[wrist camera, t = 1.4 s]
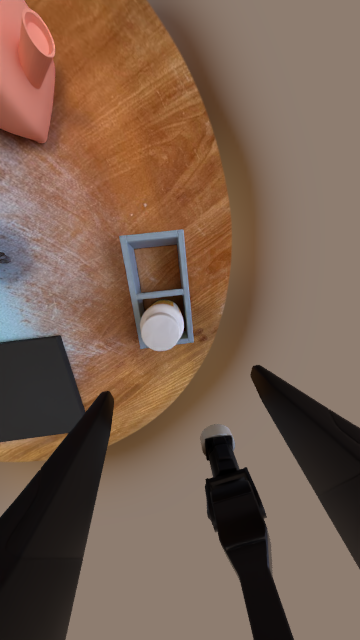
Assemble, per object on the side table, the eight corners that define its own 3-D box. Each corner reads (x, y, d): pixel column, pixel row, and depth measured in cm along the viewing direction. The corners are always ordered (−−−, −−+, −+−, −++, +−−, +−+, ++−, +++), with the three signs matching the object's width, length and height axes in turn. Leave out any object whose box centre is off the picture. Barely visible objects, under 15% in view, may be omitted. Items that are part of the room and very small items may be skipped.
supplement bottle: (142, 316, 24) (122, 336, 14) (163, 292, 23) (157, 296, 14) (166, 336, 25) (163, 367, 15) (187, 313, 24) (197, 331, 15)
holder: (191, 334, 25) (193, 342, 22) (144, 340, 25) (140, 349, 21) (181, 238, 21) (183, 229, 18) (127, 243, 21) (118, 235, 18)
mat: (89, 425, 28) (86, 430, 27) (-14, 439, 28) (-21, 445, 27) (60, 335, 24) (55, 337, 23) (-64, 350, 23) (-74, 353, 22)
